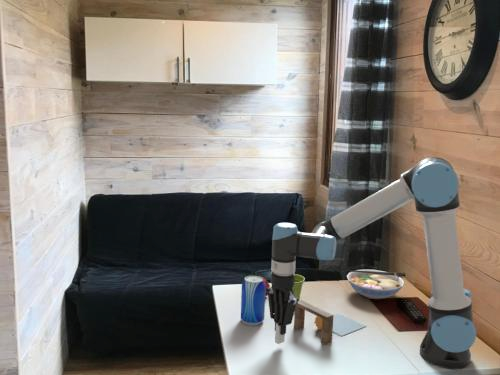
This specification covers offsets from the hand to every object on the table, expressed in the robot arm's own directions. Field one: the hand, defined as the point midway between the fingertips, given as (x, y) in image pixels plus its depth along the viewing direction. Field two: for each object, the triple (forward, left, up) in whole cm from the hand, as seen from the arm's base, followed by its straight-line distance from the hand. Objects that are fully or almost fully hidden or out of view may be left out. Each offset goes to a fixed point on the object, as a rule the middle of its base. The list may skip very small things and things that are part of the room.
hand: (279, 342), depth 168 cm
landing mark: (0, -29, -2) cm, 29 cm away
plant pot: (+27, -31, -2) cm, 41 cm away
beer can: (+20, -5, -2) cm, 21 cm away
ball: (+1, -21, +1) cm, 21 cm away
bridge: (0, -15, -2) cm, 15 cm away
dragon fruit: (+37, -22, -2) cm, 43 cm away
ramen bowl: (+10, -61, -2) cm, 62 cm away
